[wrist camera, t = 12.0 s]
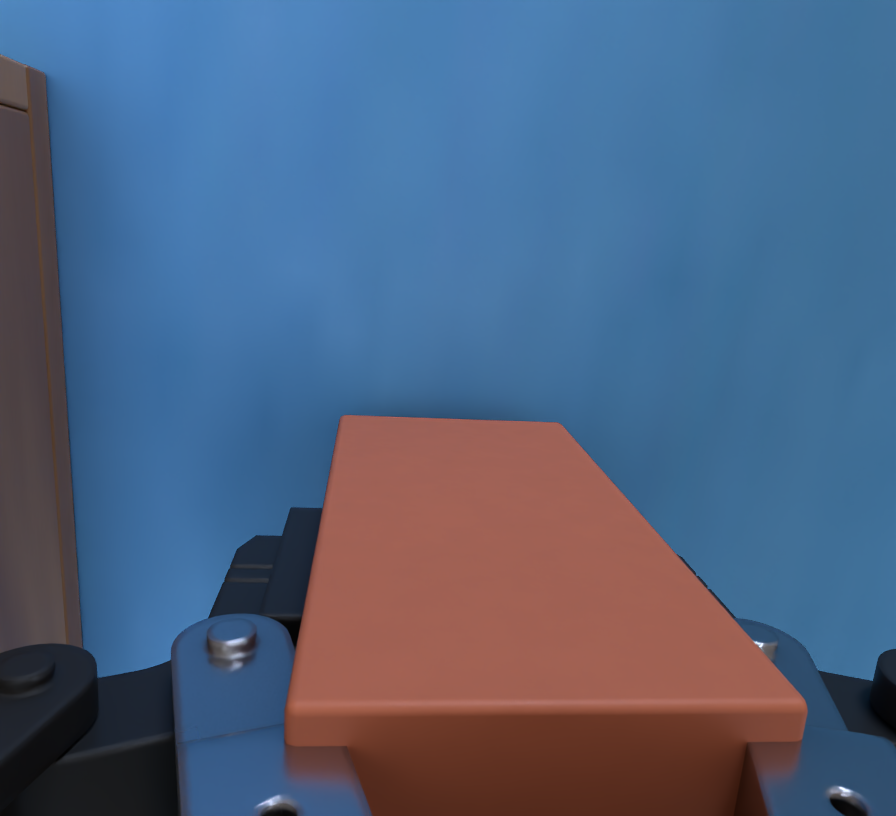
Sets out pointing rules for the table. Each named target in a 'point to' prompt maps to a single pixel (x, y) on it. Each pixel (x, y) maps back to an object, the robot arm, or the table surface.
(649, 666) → the block
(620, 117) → the table surface
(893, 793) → the robot arm
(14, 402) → the chest
